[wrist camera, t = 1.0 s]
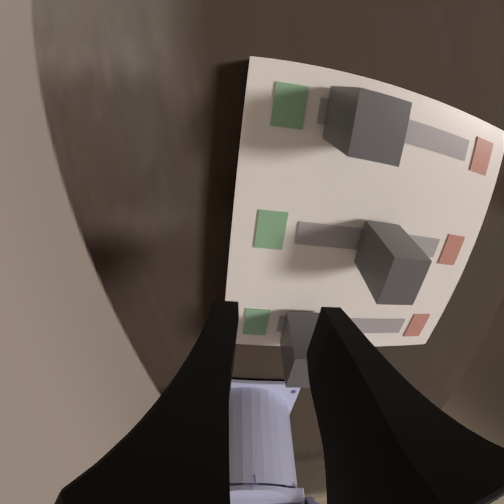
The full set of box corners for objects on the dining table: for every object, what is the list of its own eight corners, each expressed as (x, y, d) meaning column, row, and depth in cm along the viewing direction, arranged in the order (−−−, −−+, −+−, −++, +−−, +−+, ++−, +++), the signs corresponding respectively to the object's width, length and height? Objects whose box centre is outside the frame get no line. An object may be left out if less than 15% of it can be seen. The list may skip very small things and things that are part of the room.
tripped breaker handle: (386, 264, 16) (412, 305, 13) (353, 261, 16) (376, 304, 13) (398, 224, 15) (432, 261, 12) (366, 220, 15) (394, 257, 12)
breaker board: (417, 330, 22) (445, 382, 17) (223, 326, 20) (219, 393, 16) (492, 127, 14) (553, 152, 9) (249, 59, 13) (253, 43, 8)
